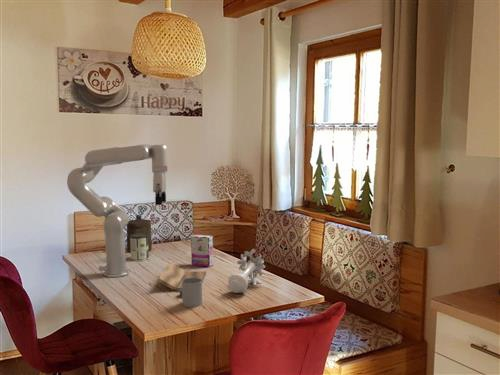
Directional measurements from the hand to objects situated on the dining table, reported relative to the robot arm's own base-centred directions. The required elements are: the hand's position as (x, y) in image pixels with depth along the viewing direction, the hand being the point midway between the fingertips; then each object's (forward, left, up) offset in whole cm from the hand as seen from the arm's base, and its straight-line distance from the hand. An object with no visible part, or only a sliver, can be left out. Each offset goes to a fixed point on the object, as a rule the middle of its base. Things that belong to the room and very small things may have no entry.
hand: (160, 203), depth 262 cm
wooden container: (-26, +54, -37) cm, 71 cm away
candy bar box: (+18, +18, -37) cm, 45 cm away
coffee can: (-20, +32, -37) cm, 53 cm away
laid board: (+17, -14, -37) cm, 43 cm away
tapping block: (+19, -34, -37) cm, 54 cm away
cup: (+22, -45, -37) cm, 62 cm away
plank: (+7, -14, -34) cm, 38 cm away
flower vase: (+44, -22, -37) cm, 61 cm away
